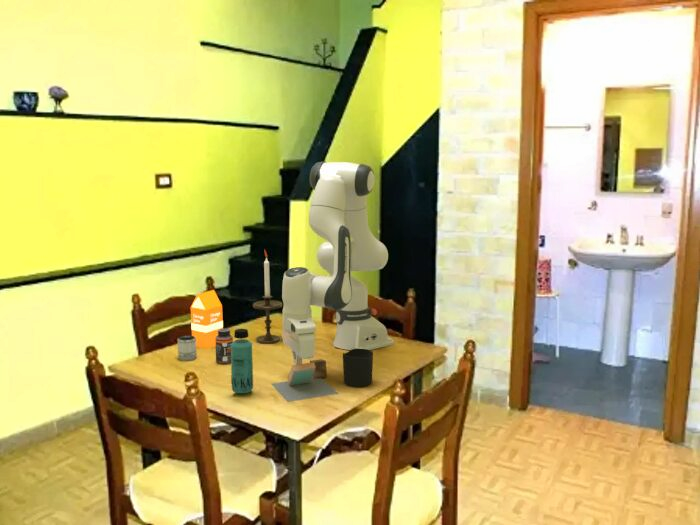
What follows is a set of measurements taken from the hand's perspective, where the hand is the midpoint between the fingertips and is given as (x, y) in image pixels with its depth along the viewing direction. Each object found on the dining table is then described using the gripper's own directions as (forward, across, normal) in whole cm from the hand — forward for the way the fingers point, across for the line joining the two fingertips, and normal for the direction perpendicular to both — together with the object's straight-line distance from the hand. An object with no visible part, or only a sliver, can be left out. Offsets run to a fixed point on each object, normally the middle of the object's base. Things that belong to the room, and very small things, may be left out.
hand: (297, 364), depth 206 cm
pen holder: (+7, +7, +17) cm, 20 cm away
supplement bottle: (+7, -31, -16) cm, 35 cm away
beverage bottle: (+7, +1, -18) cm, 19 cm away
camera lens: (+7, -40, -27) cm, 49 cm away
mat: (+6, +5, 0) cm, 8 cm away
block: (+6, -3, +8) cm, 11 cm away
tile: (+6, 0, 0) cm, 6 cm away
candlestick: (+6, -49, +5) cm, 50 cm away
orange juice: (+7, -54, -17) cm, 57 cm away
